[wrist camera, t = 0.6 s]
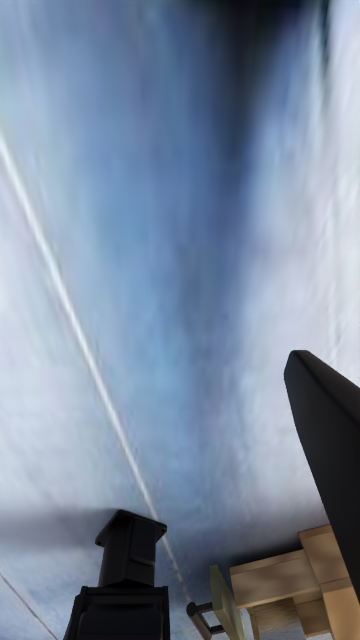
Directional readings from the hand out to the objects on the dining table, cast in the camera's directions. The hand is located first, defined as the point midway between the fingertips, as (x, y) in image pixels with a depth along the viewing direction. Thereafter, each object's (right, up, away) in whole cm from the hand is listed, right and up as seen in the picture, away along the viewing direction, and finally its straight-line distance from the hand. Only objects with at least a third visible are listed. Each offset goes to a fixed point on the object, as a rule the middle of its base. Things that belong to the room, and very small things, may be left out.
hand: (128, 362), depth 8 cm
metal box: (+13, -34, +30) cm, 47 cm away
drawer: (+12, -34, +31) cm, 48 cm away
